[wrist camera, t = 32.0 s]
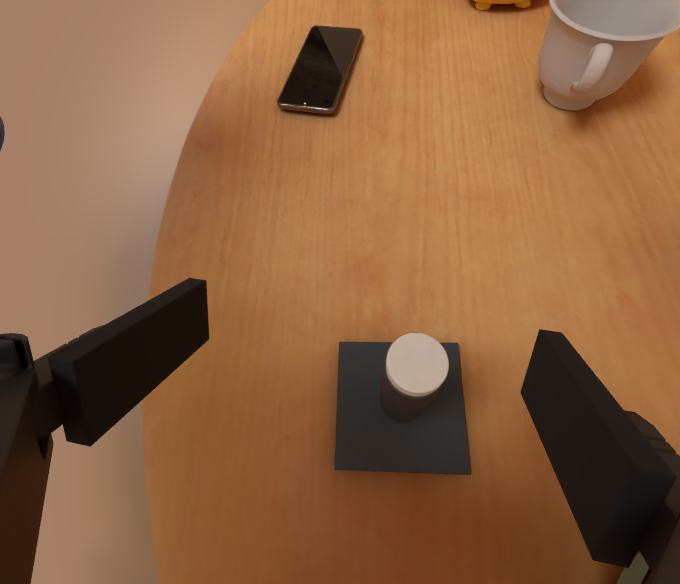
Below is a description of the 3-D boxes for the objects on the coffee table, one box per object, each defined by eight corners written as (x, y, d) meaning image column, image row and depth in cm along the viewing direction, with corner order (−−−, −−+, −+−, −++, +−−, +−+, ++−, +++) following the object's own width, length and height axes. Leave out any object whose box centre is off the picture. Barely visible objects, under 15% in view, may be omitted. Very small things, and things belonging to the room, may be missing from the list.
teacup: (496, 134, 42) (529, 43, 33) (527, 51, 48) (563, -47, 39) (613, 162, 39) (684, 71, 30) (632, 71, 45) (698, -30, 36)
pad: (335, 469, 29) (334, 469, 29) (340, 344, 34) (339, 341, 33) (468, 474, 28) (471, 474, 28) (456, 345, 33) (458, 342, 32)
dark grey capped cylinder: (380, 424, 30) (384, 394, 18) (379, 382, 31) (383, 330, 19) (421, 425, 29) (454, 395, 18) (419, 383, 31) (448, 330, 19)
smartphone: (363, 28, 51) (333, 110, 44) (363, 36, 52) (334, 118, 45) (311, 24, 52) (274, 103, 45) (312, 32, 53) (276, 111, 46)
